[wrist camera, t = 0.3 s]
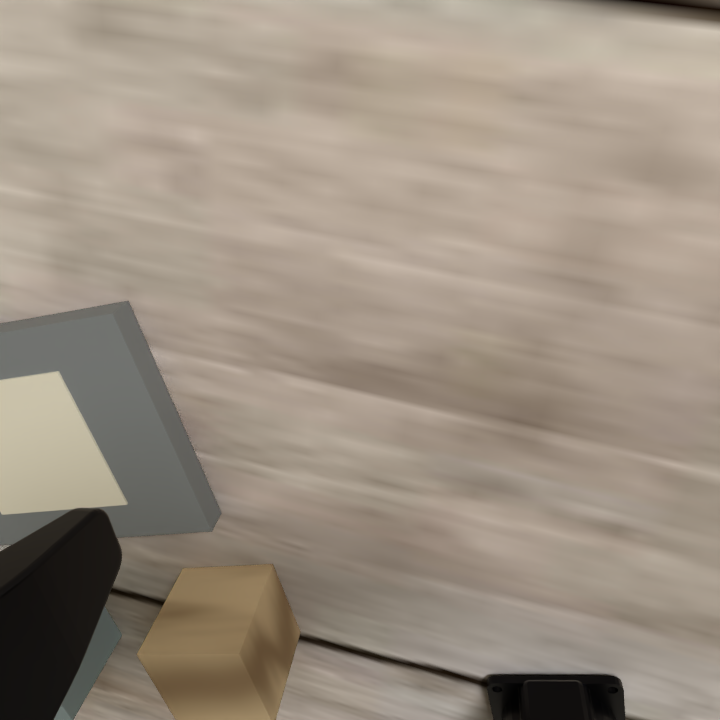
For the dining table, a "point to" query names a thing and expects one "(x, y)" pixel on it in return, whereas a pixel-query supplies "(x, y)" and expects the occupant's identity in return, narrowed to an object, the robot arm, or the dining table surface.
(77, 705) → the blue block
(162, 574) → the dining table surface
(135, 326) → the board
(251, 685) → the oak block
